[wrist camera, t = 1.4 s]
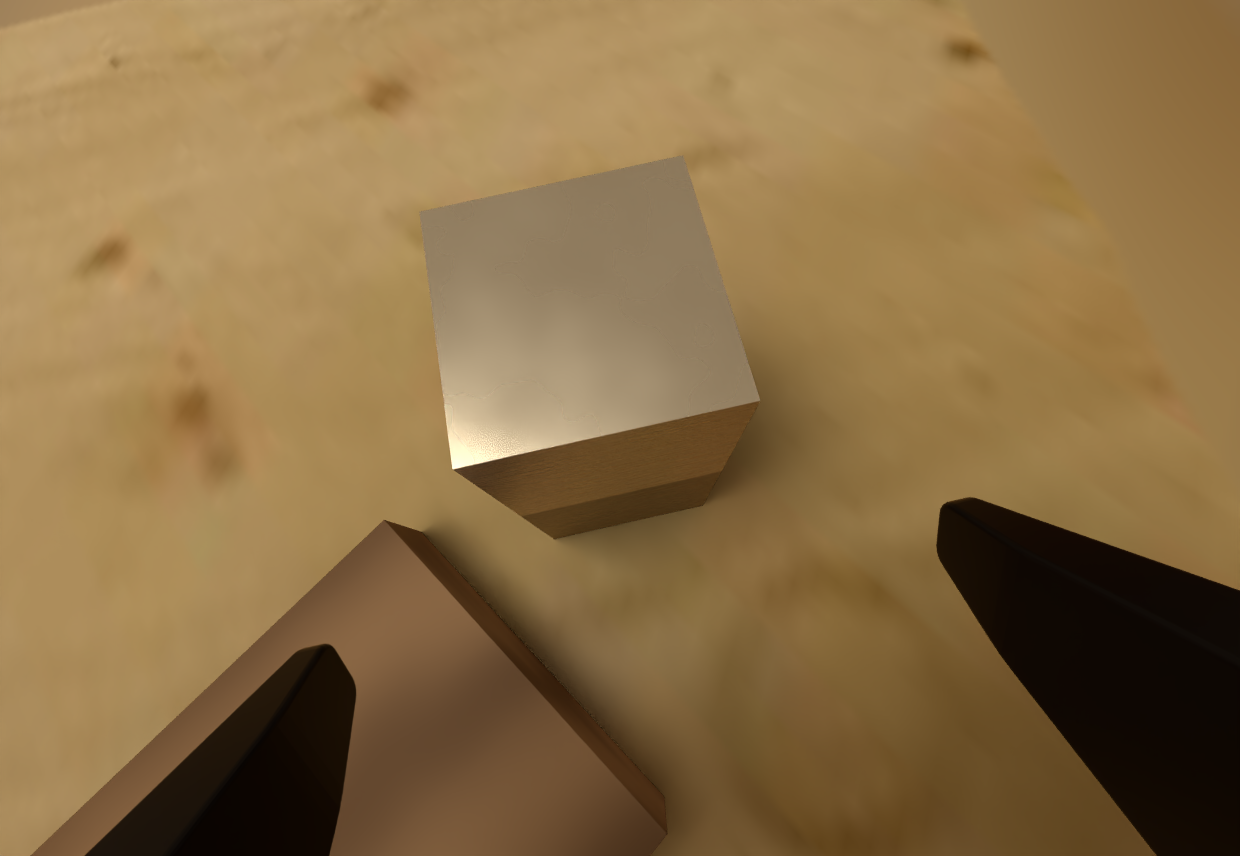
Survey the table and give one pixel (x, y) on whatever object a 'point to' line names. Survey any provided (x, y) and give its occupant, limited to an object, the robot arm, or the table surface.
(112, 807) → the stand
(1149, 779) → the robot arm
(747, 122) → the table surface
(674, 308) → the block
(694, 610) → the table surface
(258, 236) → the table surface
